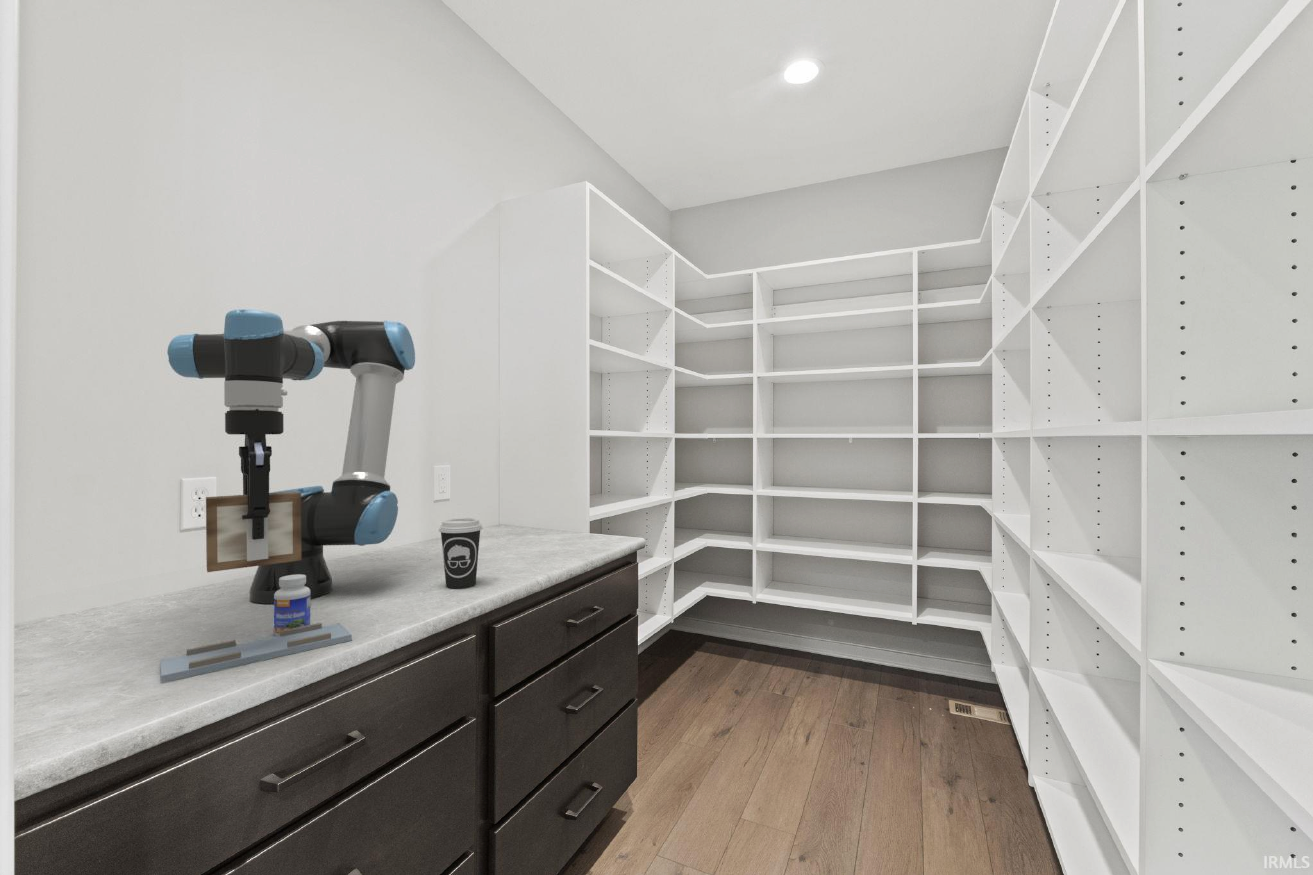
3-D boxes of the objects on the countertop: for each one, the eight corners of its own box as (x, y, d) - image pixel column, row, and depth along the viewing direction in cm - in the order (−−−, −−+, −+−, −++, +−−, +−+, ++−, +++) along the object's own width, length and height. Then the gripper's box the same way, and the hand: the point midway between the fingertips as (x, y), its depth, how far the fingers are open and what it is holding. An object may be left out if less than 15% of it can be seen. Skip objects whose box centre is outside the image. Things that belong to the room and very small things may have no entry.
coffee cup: (491, 583, 130) (491, 519, 130) (457, 593, 122) (456, 524, 122) (464, 578, 136) (464, 516, 136) (429, 587, 128) (429, 521, 128)
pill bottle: (271, 639, 94) (271, 582, 94) (276, 629, 99) (275, 575, 99) (309, 634, 97) (308, 578, 97) (311, 625, 102) (311, 571, 102)
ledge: (160, 665, 84) (160, 653, 84) (339, 628, 100) (339, 618, 100) (161, 682, 78) (161, 670, 78) (351, 640, 94) (351, 629, 94)
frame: (207, 572, 83) (206, 499, 83) (206, 568, 86) (205, 497, 86) (301, 560, 91) (301, 493, 91) (298, 556, 94) (297, 491, 94)
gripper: (290, 408, 85) (292, 562, 85) (276, 411, 97) (277, 546, 97) (228, 407, 80) (230, 570, 80) (221, 410, 92) (223, 552, 92)
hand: (256, 556), depth 89 cm, fingers closed on frame, 3 cm apart
